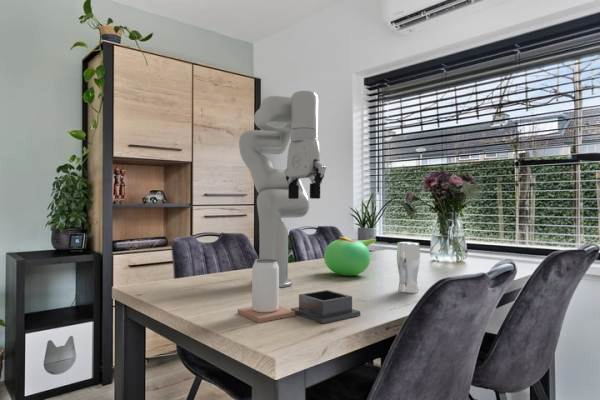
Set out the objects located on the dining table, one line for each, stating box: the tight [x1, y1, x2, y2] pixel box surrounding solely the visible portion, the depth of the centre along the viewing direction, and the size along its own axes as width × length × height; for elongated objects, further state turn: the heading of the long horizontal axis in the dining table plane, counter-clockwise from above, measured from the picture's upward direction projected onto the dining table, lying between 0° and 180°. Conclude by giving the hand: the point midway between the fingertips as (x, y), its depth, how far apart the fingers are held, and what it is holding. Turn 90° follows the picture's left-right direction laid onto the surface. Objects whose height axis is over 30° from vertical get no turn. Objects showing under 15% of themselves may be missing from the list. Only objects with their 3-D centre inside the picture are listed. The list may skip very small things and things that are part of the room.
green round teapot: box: [323, 236, 377, 277], centre depth 156 cm, size 18×17×15 cm
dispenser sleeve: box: [290, 289, 361, 324], centre depth 101 cm, size 12×12×4 cm
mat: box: [237, 305, 296, 324], centre depth 100 cm, size 10×10×1 cm
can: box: [251, 258, 280, 313], centre depth 100 cm, size 6×6×12 cm
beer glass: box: [396, 241, 421, 294], centre depth 128 cm, size 7×7×15 cm
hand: (303, 198), depth 115 cm, fingers open, 9 cm apart
